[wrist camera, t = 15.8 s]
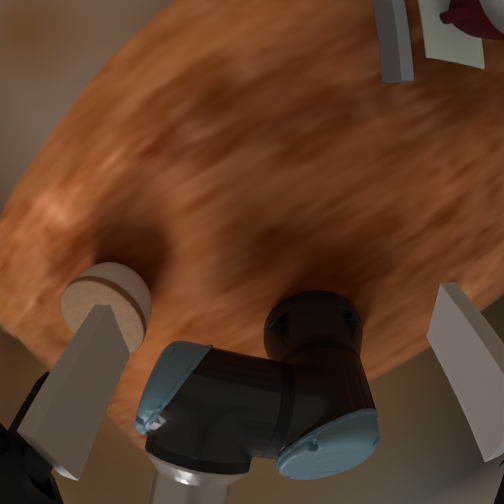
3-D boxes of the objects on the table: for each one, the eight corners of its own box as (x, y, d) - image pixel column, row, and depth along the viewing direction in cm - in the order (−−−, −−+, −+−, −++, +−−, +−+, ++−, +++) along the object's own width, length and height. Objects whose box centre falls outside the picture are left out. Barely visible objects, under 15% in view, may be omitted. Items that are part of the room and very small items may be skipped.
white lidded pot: (160, 326, 49) (140, 375, 39) (91, 307, 48) (61, 350, 38) (165, 257, 43) (138, 303, 34) (86, 240, 43) (47, 278, 33)
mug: (443, 57, 29) (488, 52, 20) (411, 4, 26) (449, -16, 17) (490, 36, 26) (535, 31, 17) (461, -13, 23) (502, -29, 14)
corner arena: (501, 99, 30) (527, 103, 25) (382, 82, 32) (401, 79, 26) (480, -33, 21) (502, -42, 15) (358, -66, 22) (370, -86, 17)
